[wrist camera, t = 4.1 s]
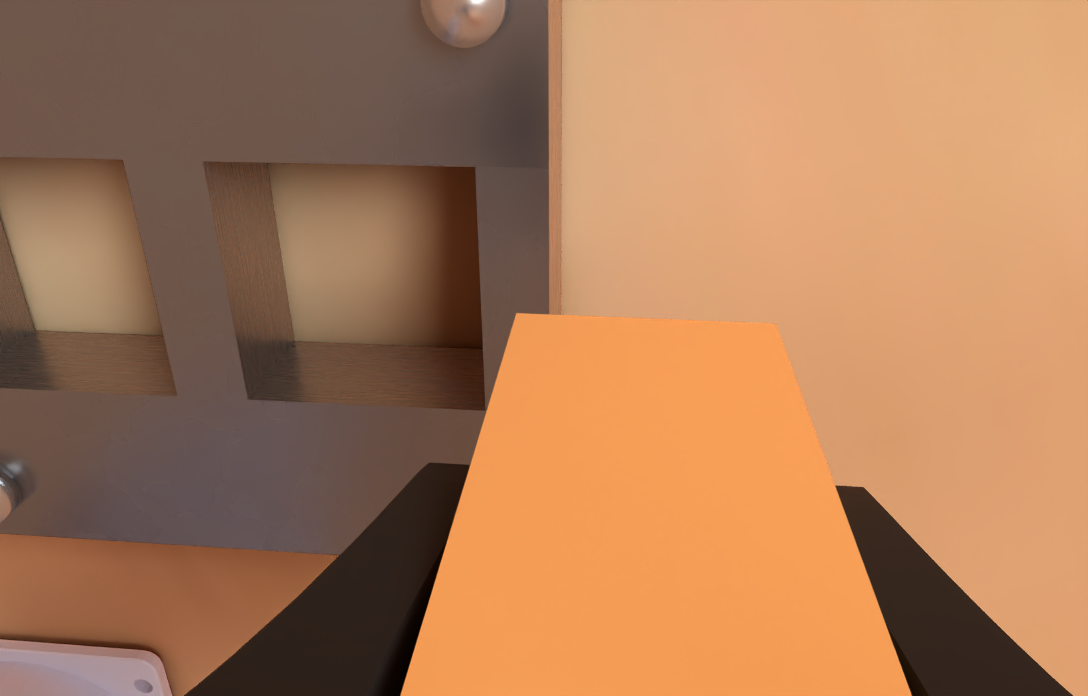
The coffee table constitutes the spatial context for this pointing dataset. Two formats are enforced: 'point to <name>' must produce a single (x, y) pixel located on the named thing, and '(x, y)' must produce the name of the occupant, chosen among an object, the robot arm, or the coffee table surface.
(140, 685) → the robot arm
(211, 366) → the grey mounting plate
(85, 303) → the coffee table surface
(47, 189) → the coffee table surface
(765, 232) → the coffee table surface
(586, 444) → the orange rectangular block
